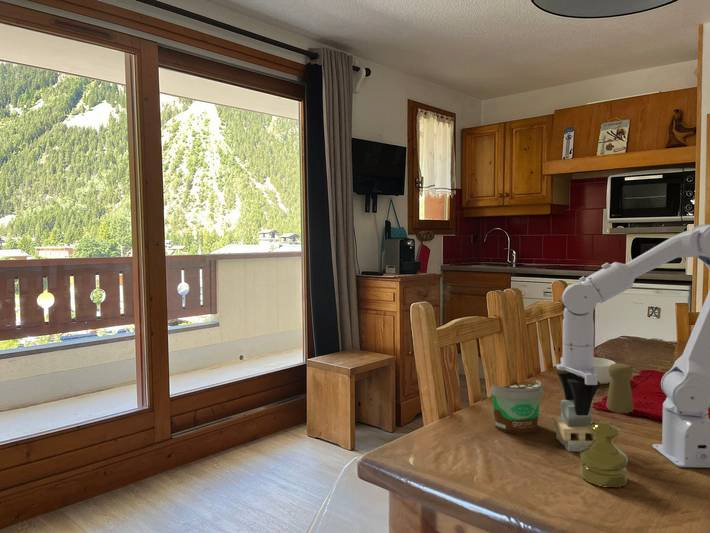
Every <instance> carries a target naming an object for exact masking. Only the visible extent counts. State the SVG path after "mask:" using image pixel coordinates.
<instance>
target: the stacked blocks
mask: <svg viewBox="0 0 710 533" xmlns="http://www.w3.org/2000/svg"><path fill="white" fill-rule="evenodd" d="M551 418H552V419H551V420H552V428H553V430H554V431H555V432H557V433H558V434H559V435H560V436H561V438H562V439H563V440H564V441H571V433H572V434H573V435H574V436H575V437H576V438H577V439H578V440H579V441H585V433H586V434H587V435H588V436H589V437H590V438H591V439H592V440H593V441H594V440H595V436H594V435H593V434H592V433H591V432H590V431H589V430H588V425H590V424H592V423H594V422H593V421H592V405H591V406H590V410H589V413H588V415H577V414H576V412H575V407H574V400H566V399H561V400H560V416H552V417H551Z"/></svg>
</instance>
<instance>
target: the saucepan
mask: <svg viewBox="0 0 710 533" xmlns="http://www.w3.org/2000/svg"><path fill="white" fill-rule="evenodd" d="M611 364H617V362H616V361H614V360H611V359H608V358H603V357H602V358H601V357H595V356H594V357H593V366H594V367H595V373H596V374H597V381H598V382H600V385H606V384H610V379H611V377H610V375H609V372H608V369H609V366H610V365H611Z"/></svg>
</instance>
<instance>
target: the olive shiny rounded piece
mask: <svg viewBox="0 0 710 533" xmlns="http://www.w3.org/2000/svg"><path fill="white" fill-rule="evenodd" d="M588 430H589V431H590V432H591V433H592V434H593V435H594V436H595V440H594V441H593V442H592V443H590V444H589V445H588V446H585V447H584V448H582V449H581V451H579V455H580V459H581V461H580V463H579V466H580V476H581V478H582V479H583V480H584V479H585V480H584V481H586V482H587V481H589V482H591V483H593V484H597V485H601V486H607V487H619V488H622V487H621V486H623V487H624V486H626V485H627V484H626V483H628V469H627V468H626V467H627V466H628V462H629V460H628V456H627V454H625V453H624V452H623V451H622V450H620V448H618V446H616V445H615V443H613V440H614V438H616V437H618V436H619V435H620V433H621V431H620V428H618V426H615V425H614V424H612V423H610V422H609V421H606V420H598V421H594V422H593V423H592V424H590V425H588ZM589 482H588V483H589ZM591 483H590V484H591ZM593 484H592V485H593Z"/></svg>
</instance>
